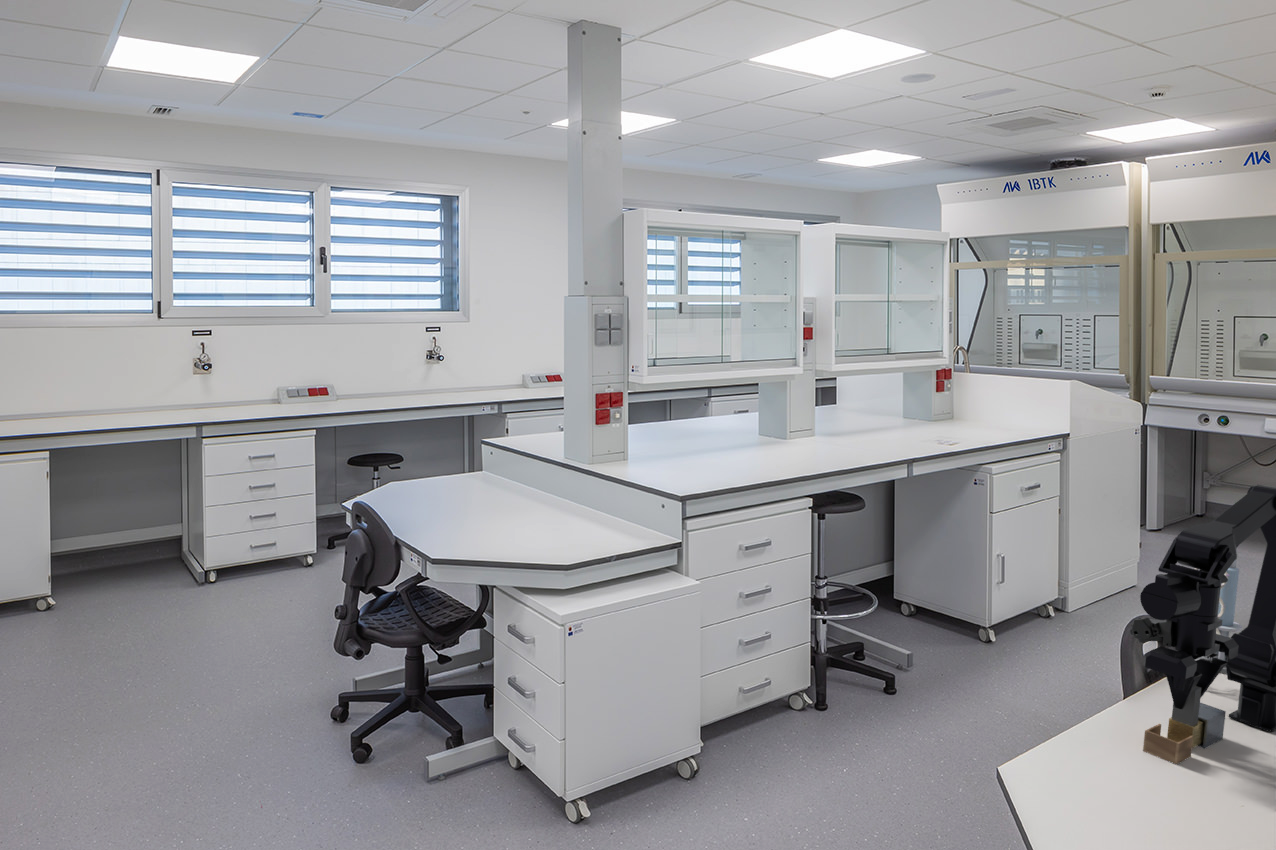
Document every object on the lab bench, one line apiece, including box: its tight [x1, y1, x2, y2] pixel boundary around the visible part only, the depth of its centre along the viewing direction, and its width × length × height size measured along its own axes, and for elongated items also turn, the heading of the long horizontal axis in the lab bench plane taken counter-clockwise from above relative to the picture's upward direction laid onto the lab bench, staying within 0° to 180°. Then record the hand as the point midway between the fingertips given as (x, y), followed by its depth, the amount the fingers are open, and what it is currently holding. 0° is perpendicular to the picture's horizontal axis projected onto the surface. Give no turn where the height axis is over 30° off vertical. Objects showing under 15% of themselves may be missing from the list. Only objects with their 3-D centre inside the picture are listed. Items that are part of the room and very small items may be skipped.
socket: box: [1142, 723, 1193, 765], centre depth 136 cm, size 5×5×3 cm
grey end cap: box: [1197, 702, 1227, 749], centre depth 141 cm, size 6×5×5 cm
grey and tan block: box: [1166, 686, 1206, 749], centre depth 140 cm, size 9×4×10 cm, turn 123°
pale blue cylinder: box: [1216, 547, 1243, 674], centre depth 170 cm, size 5×6×35 cm
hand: (1186, 704), depth 138 cm, fingers open, 5 cm apart
